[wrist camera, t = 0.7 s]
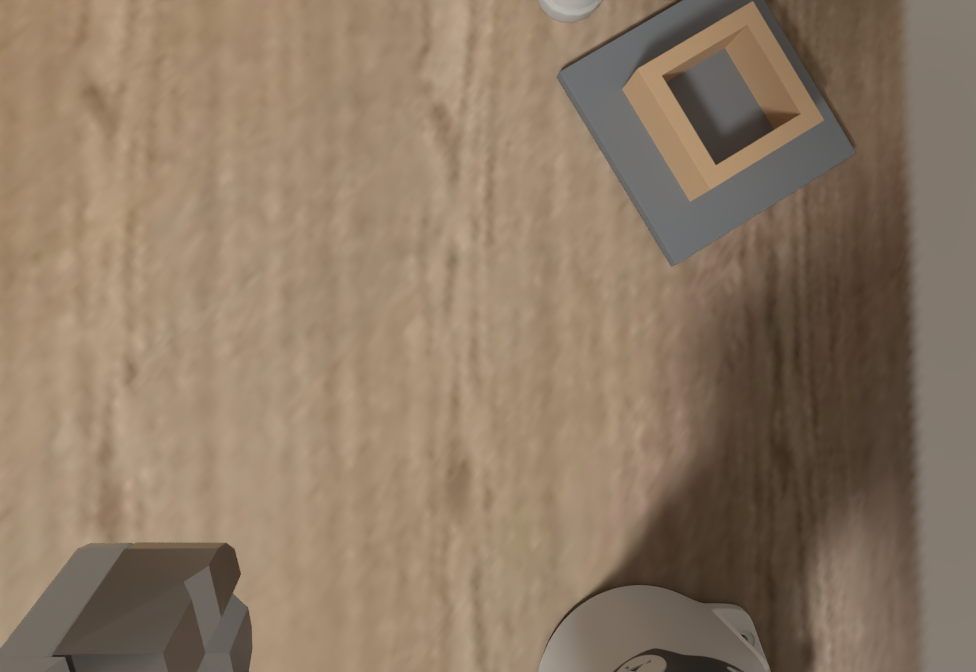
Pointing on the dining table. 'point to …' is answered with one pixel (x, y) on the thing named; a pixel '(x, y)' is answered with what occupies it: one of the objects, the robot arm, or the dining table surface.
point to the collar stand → (705, 119)
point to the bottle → (569, 9)
